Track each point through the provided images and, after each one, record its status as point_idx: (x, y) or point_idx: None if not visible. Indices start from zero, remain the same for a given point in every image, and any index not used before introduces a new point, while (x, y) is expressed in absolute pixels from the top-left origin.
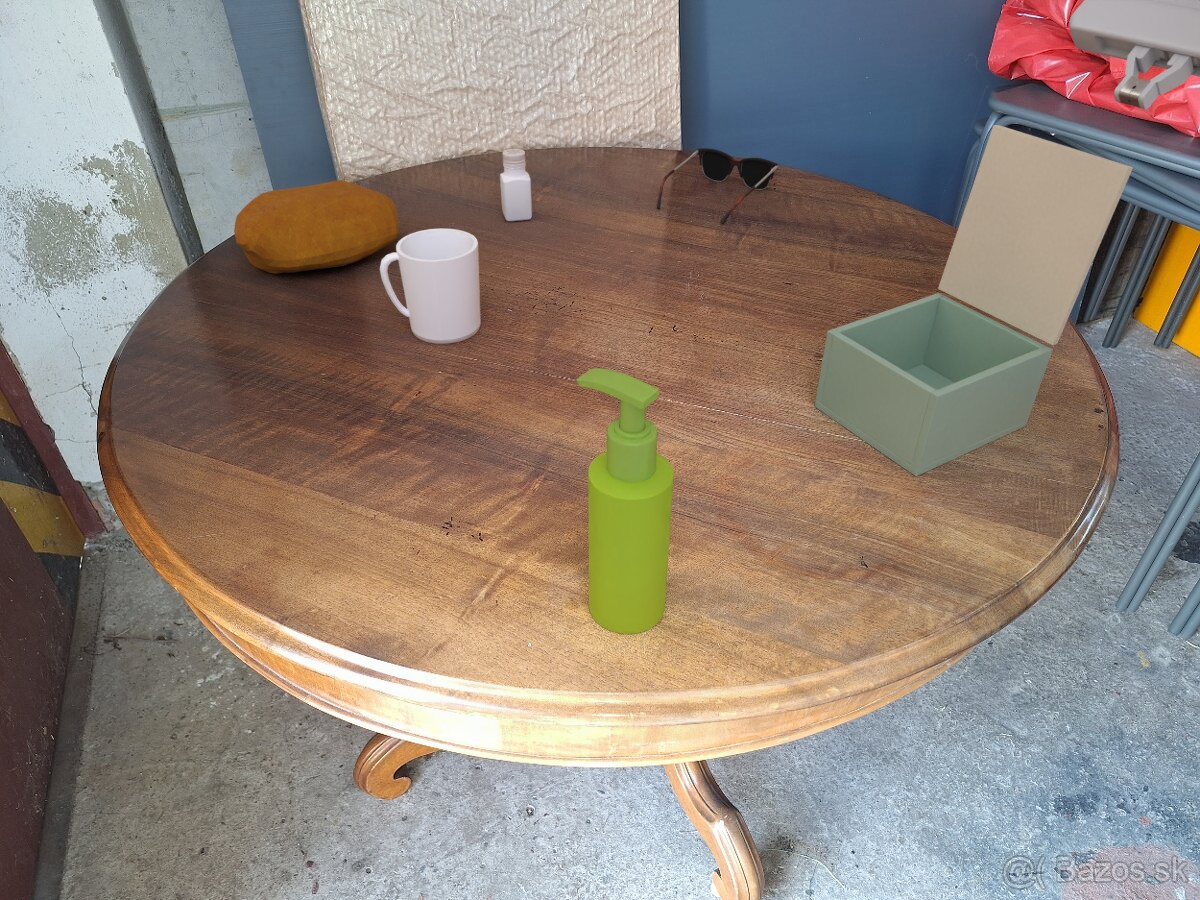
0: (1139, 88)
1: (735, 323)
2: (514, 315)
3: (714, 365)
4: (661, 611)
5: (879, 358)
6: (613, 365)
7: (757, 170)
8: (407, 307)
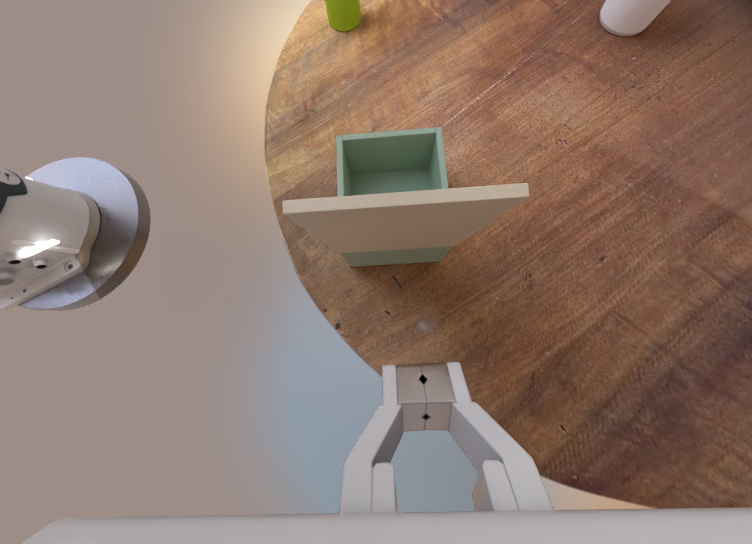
0: (409, 380)
1: (553, 182)
2: (625, 58)
3: (503, 140)
4: (330, 21)
5: (391, 133)
6: (531, 87)
7: None
8: None
